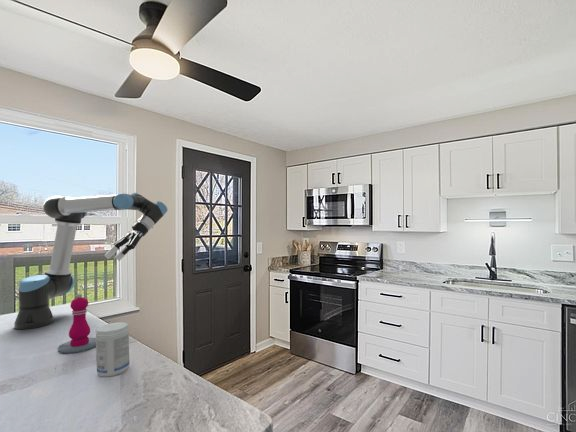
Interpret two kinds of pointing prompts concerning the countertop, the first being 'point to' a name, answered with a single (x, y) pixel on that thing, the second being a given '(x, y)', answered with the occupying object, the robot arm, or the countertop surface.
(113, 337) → the supplement tub
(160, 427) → the countertop surface
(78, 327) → the pepper mill
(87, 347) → the saucer
